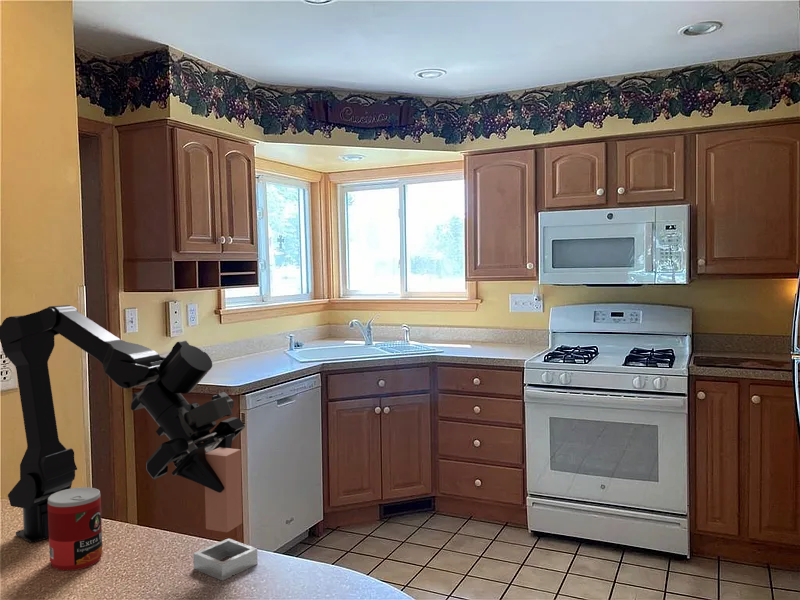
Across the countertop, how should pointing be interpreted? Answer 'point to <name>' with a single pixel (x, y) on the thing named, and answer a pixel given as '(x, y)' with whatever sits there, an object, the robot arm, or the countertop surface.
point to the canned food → (75, 528)
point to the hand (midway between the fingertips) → (230, 486)
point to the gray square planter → (239, 562)
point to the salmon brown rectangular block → (228, 503)
